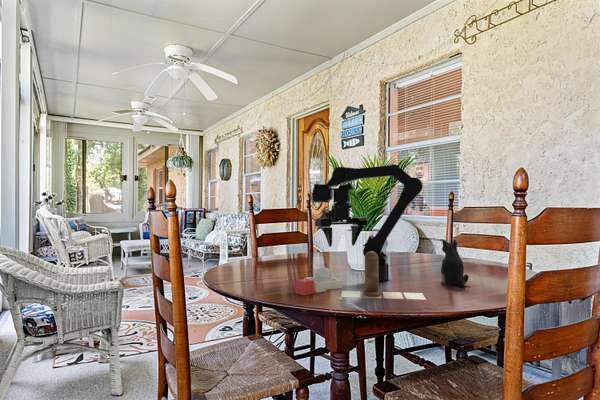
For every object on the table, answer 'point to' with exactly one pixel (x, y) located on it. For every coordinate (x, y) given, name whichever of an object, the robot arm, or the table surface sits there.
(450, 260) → the figurine
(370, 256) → the pawn
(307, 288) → the red die
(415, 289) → the table surface
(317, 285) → the base
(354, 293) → the track board
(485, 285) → the table surface
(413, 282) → the table surface
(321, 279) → the dome
